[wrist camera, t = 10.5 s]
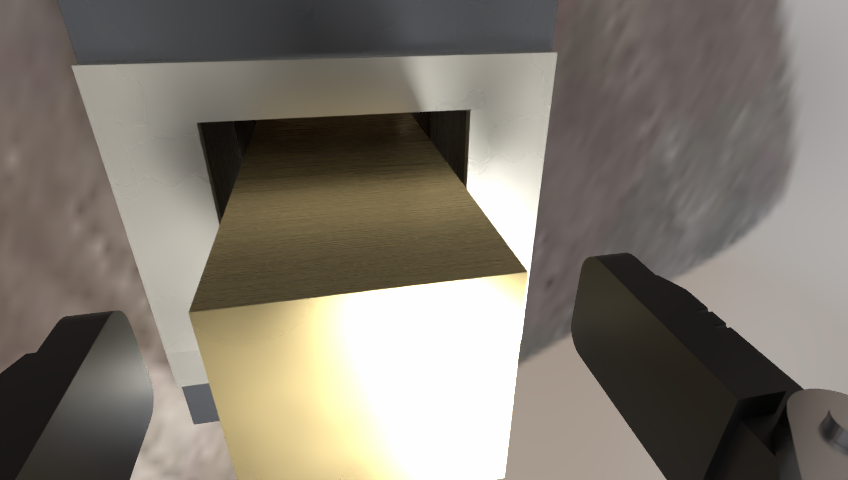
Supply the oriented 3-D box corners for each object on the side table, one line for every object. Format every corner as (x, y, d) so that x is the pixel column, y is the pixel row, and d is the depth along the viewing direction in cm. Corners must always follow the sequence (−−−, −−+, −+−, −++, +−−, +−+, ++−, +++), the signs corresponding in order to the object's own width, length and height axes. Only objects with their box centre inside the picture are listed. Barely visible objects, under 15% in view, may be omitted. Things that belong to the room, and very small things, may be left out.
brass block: (259, 113, 15) (188, 313, 6) (404, 105, 15) (528, 271, 7) (281, 242, 17) (251, 527, 8) (407, 229, 17) (503, 477, 9)
